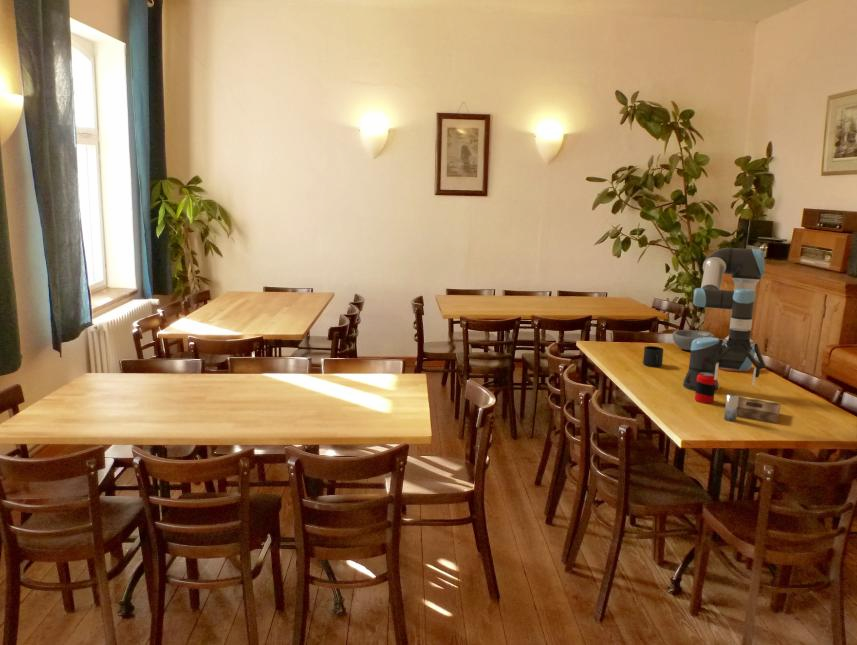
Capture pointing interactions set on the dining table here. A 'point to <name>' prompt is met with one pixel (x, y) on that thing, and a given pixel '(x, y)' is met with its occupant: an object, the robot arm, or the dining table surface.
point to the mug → (653, 356)
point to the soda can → (705, 388)
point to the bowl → (688, 337)
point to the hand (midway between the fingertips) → (734, 382)
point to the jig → (758, 409)
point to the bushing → (731, 407)
